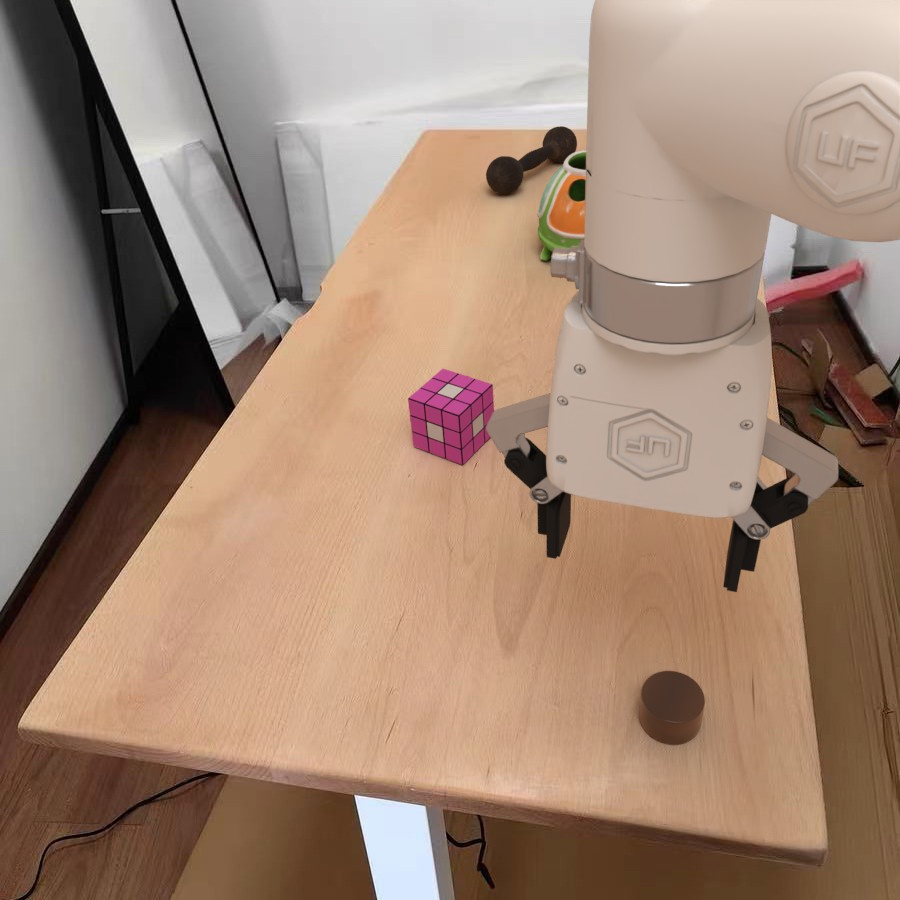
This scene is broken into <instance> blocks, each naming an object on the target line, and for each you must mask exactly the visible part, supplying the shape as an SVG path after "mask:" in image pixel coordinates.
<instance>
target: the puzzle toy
mask: <svg viewBox="0 0 900 900" xmlns="http://www.w3.org/2000/svg"><path fill="white" fill-rule="evenodd" d="M407 403H408V411H409V420H410V427H411V438H412V444H413V447H414V448H416V449H419V450H422V451H424V452H428V453H430V454H433V455H435V456H437V457H440V458H442V459H446V460H448V461H451V462H454V463H456V464H458V465H461V466H463V465H465V464H466V463H467V461H469V459H470V458H472V456H474V454H476V453H477V451H478V450H480V448H481V447H483V446H484V444H485V443H486V442H488V441H489V439H491V437H490V436H489V434H488V433H487V430H486V426H487V424H488V422H489V419H490V417H491V415H492V413H493V412H494V411H495V403H494V384H493V383H490V382H487V381H483V380H481V379H478V378H474V377H471V376H468V375H465V374H462V373H458V372H456V371H452V370H449V369H446V368H442V369H440V370H439V371H438V372H437V373H435V374H434V375H433V376H432V377H430V379H429V380H428V381H426V382H425V383H424V384H423V385H422V386H421V387H419V388H418V389H417V390H416V391H415V392H413V394H411V395H410V396H409V397H408V398H407Z"/></svg>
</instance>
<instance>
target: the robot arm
mask: <svg viewBox="0 0 900 900" xmlns="http://www.w3.org/2000/svg"><path fill="white" fill-rule="evenodd" d="M592 5H593V6H592V9H591V15H590V23H589V24H590V28H589V37H588V38H589V39H588V43H589V45H588V69H587V70H588V75H587V104H586V105H587V106H586V107H587V109H586V144H585V145H586V147H585V148H586V149H585V150H586V184H585V235H584V239H582V240H581V242H580V244H579V246H571V247H570V249H569V248H556V247H555V248H554V250H553V253H552V257H551V259H550V277H551V278H559V279H566V282H572V283H574V287H575V290H577V292H576V293H575V294H574V295H573V296H572V298H571V299H570V301H569V302H568V303H567V305H566V306H565V308H564V311H563V316H562V318H561V323H560V327H559V331H558V335H557V340H556V341H557V342H556V346H555V353H554V359H553V367H552V375H551V383H550V384H551V385H550V392H548V393H546V394H543V395H539V396H536V397H532V398H529V399H526V400H523V401H520V402H516V403H513V404H510V405H507V406H504V407H503V406H502V407H499V408H496V409H494V412H493V413H492V415H491V417H490V419H489V422H488V424H487V426H486V430H487V433H488V434H489V436H490V440H491V441H492V442H493V444H494V445H495V447H496V449H497V450H498V452H499V453H501V454H502V456H503V457H504V460H503V461H504V465H505V467H506V468H507V469H508V470H509V471H510V472H511V473H512V474H513V475H514V476H515V477H517V478H518V480H520V481H521V482H522V483H523V484H524V485H525V486H526V487H527V488H529V492H528V493H529V497H530V499H531V501H533V502H535V504H536V505H537V509H536V511H537V513H536V514H537V534H538V535H543V536H546V539H545V540H546V541H545V542H546V558H549V559H555V560H556V559H557V558H560V557H561V555H562V553H563V550H564V546H565V542H566V539H567V536H568V533H569V531H570V527H571V522H572V521H571V520H572V519H571V513H572V510H571V509H572V496H575V497H579V498H584V499H589V500H595V501H601V502H607V503H612V504H619V505H625V506H632V507H635V508H636V507H637V508H643V509H649V510H656V511H662V512H669V513H675V514H681V515H687V516H693V517H694V516H695V517H700V518H701V517H702V518H708V519H730V518H731V519H732V524H731V529H730V535H729V540H728V546H727V553H726V560H725V569H724V577H723V585H722V586H723V588H724V589H725V588H726V591H727V592H734V593H738V589H739V582H740V577H741V574H742V573H741V572H742V571H745V572H746V571H747V572H751V573H754V572H755V569H756V565H757V559H758V555H759V550H760V546H761V541H762V540H764V539H766V538H768V537H769V536H770V534H771V529H773V528H775V527H777V526H779V525H782V524H784V523H786V522H788V521H790V520H793V519H795V518H798V517H800V516H802V515H804V514H805V513H806V512H807V511H808V508H809V505H810V504H811V503H813V501H817V500H818V499H819V498H820V497H821V496H823V494H824V493H826V492H827V491H828V490H829V489H830V488H831V487H833V486H834V485H835V484H836V483H837V482H838V481H839V460H838V458H837V457H836V455H834V454H832V453H831V452H829V451H827V450H825V449H824V448H822V447H820V446H818V445H817V444H814V443H813V442H812V441H810V440H808V439H806V438H804V437H802V435H801V436H800V435H799V434H798V433H795V432H793V431H792V430H790V429H788V428H786V427H785V426H783V425H781V424H780V423H778V422H776V421H774V420H772V419H771V418H769V417H768V412H769V404H770V397H771V384H772V383H771V382H772V372H773V371H772V368H773V367H772V363H773V362H772V361H773V358H772V357H773V354H772V353H773V352H772V351H773V348H772V334H771V323H770V315H769V311H768V308H767V307H766V306H765V304H764V303H763V302H762V301H761V300H760V299H759V297H758V295H759V289H760V283H761V277H762V272H763V267H764V259H765V254H766V250H767V245H768V244H767V243H768V237H769V232H770V226H771V219H772V215H773V216H775V217H778V218H780V219H783V220H785V221H787V222H789V223H791V224H794V225H797V226H800V227H802V228H805V229H807V230H810V231H813V232H815V233H816V232H817V233H820V234H821V235H825V236H828V237H832V238H838V239H841V240H847V241H852V242H862V243H863V242H864V243H865V242H866V243H887V242H895V241H900V0H594V3H593V4H592ZM544 428H547V431H546V432H547V433H546V448H545V453H544V451H542V449H540V448H539V447H538V445H536V444H535V443H534V442H533V441H532V440H531V439H529V437H525V434H527V433H531V432H534V431H537V430H538V431H539V430H541V429H544ZM762 457H765V458H766V459H768V460H770V461H771V462H773V463H775V464H777V465H779V466H781V467H783V469H786V470H788V471H789V472H791V473H793V474H794V475H792V476H788V477H786V478H784V479H782V480H780V481H778V482H776V483H774V484H772V485H770V486H768V487H767V485H766V484H765V483H764V482H763V480H761V478H760V477H759V473H760V469H761V463H762Z"/></svg>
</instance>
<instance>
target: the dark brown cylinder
mask: <svg viewBox="0 0 900 900" xmlns="http://www.w3.org/2000/svg"><path fill="white" fill-rule="evenodd" d="M705 703H706V698H705V694H704V692H703V689H702V688H701V686H700V685H699V683H698V682H697V681H695V679H693V678H692V677H690V676H689V675H687V674H685V673H683V672H680V671H675V670H662V671H658V672H656V673H653V674H651V675H650V676H649V677H647V679H646V680H645V681H644V682H643V685H642V687H641V692H640V700H639V709H638V719H639V723H640V726H641V727H642V729H643V730H644V732H645V733H646V734H647V735H648V736H649V737H651V738H652V739H653V740H654V741H657V742H659V743H661V744H665V745H671V746H674V745H675V746H677V745H683V744H686V743H689V742H690V741H692V740H694V738H695V737H696V736H697V735H698V733H699V732H700V729H701V726H702V725H701V724H702V719H703V715H704V709H705Z"/></svg>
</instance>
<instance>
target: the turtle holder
mask: <svg viewBox="0 0 900 900" xmlns="http://www.w3.org/2000/svg"><path fill="white" fill-rule="evenodd" d="M585 184H586V149H585V150H584V149H583V150H578V151H575V152H574V153H572V154H571V155H569V156H568V157H567V158H566V160H565V161H564V162H563V164H562V165H561V166H560V167H559V168H558V169H557V170H556V172H554V174H553V175H552V176H551V177H550V179H548V182H547V184H546V185H545V187H544V190H543V192H542V195H541V199H540V202H539V208H538V210H537V213H536V215H537V218H538V227H537V235H538V239H539V241H540V242H541V243H542V245H543V247H542V250H541V252H540V254H539V259H540V260H541V261H543V262H544V261H545V262H546V261H549V260H551V257H552V253H553V250H554V248H555V247H556V248H569V249H570V247H571V246H579V244H580V242H581V240H582V239H584V235H585Z"/></svg>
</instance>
